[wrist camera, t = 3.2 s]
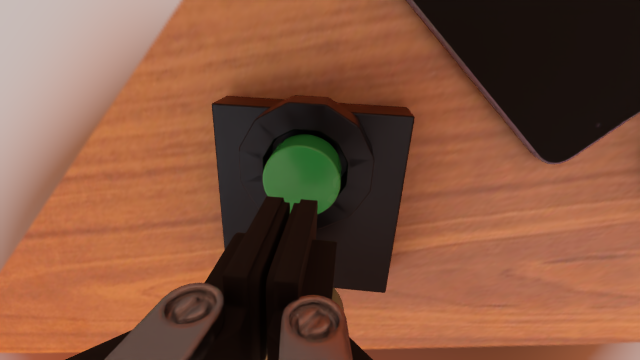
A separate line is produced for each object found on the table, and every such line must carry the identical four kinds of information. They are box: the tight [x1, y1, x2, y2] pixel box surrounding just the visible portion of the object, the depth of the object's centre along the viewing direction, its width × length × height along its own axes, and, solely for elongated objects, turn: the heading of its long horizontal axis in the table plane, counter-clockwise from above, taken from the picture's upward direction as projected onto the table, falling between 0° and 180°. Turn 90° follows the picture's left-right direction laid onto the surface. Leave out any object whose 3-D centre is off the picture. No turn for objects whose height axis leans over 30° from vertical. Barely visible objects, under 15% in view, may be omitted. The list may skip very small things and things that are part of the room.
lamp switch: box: [263, 134, 341, 214], centre depth 15 cm, size 3×3×2 cm
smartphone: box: [406, 0, 640, 164], centre depth 15 cm, size 7×1×15 cm
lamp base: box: [212, 95, 414, 293], centre depth 18 cm, size 12×10×4 cm
